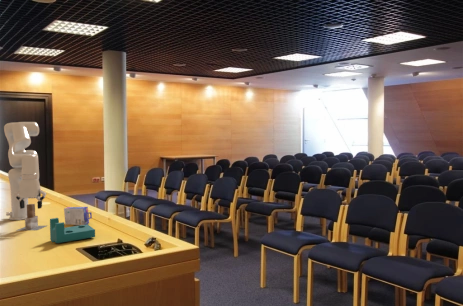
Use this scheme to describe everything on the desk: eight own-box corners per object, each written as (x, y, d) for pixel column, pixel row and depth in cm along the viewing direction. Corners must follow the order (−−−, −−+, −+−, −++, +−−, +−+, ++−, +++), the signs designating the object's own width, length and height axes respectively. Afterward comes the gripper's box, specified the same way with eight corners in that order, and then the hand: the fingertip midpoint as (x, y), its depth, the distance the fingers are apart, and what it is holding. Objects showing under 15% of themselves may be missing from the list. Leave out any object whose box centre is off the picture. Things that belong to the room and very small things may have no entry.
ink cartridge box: (70, 223, 251) (93, 223, 248) (64, 225, 245) (88, 226, 242) (69, 206, 250) (92, 206, 247) (63, 208, 244) (86, 208, 241)
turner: (25, 229, 233) (24, 205, 233) (32, 226, 241) (31, 203, 241) (30, 229, 233) (29, 205, 233) (38, 226, 241) (36, 203, 241)
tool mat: (15, 231, 232) (15, 230, 232) (27, 226, 244) (27, 225, 244) (37, 231, 231) (37, 230, 231) (48, 226, 243) (48, 225, 243)
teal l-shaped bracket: (56, 246, 200) (56, 224, 199) (50, 240, 208) (49, 218, 207) (95, 239, 211) (95, 218, 209) (87, 234, 219) (87, 213, 218)
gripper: (10, 178, 233) (11, 209, 234) (41, 177, 232) (43, 209, 233) (18, 176, 241) (19, 207, 242) (48, 176, 240) (49, 207, 241)
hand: (31, 208), depth 237 cm, fingers open, 9 cm apart
